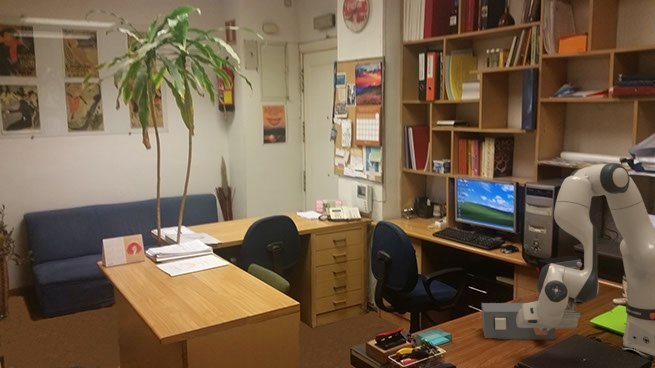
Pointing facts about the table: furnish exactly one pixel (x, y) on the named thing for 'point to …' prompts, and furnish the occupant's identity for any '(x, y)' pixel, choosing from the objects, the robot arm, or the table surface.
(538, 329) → the rust plug
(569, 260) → the electrical component
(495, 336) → the block
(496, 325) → the beige plug
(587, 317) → the table surface
